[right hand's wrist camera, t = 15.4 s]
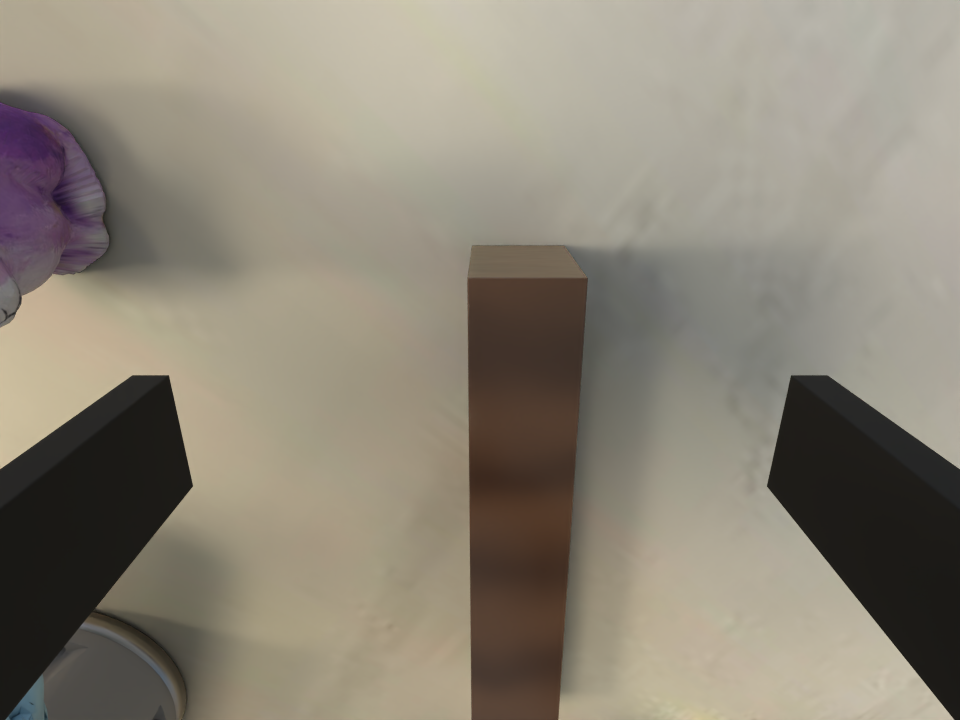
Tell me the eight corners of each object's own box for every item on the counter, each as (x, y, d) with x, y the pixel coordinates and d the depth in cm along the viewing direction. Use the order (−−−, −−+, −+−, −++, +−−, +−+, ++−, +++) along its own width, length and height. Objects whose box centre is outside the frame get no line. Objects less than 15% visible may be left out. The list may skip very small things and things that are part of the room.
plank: (543, 668, 44) (554, 777, 36) (474, 668, 44) (472, 776, 36) (564, 245, 32) (588, 277, 25) (472, 245, 32) (467, 277, 25)
